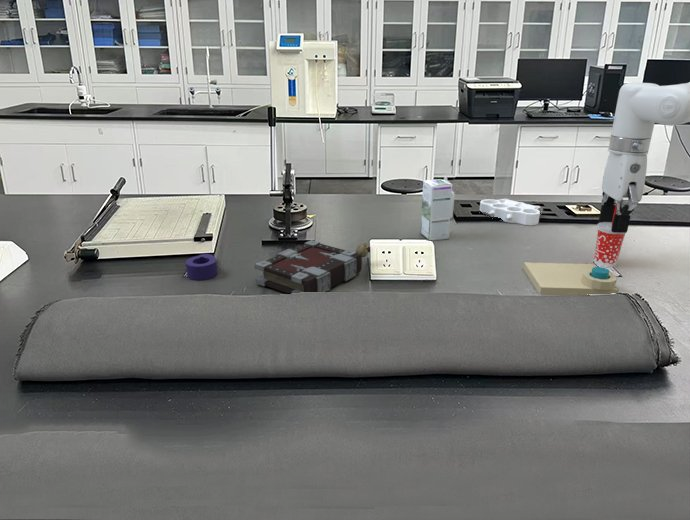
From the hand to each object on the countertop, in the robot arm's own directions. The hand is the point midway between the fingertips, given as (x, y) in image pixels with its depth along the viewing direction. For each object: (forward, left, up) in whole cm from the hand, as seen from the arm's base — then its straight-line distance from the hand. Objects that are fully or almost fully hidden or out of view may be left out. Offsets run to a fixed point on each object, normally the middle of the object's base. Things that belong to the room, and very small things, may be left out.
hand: (612, 226), depth 118 cm
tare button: (+7, +15, -6) cm, 18 cm away
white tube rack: (+13, -35, -9) cm, 38 cm away
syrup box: (+37, -16, -9) cm, 41 cm away
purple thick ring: (+90, +9, -9) cm, 91 cm away
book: (+64, +10, -9) cm, 65 cm away
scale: (+12, +11, -9) cm, 19 cm away
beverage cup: (0, 0, -9) cm, 9 cm away
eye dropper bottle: (+33, -32, -9) cm, 47 cm away
